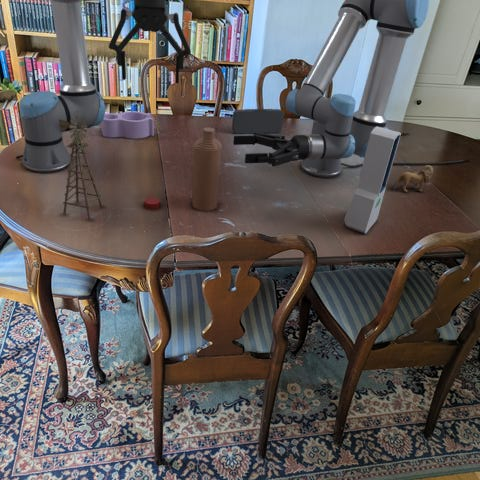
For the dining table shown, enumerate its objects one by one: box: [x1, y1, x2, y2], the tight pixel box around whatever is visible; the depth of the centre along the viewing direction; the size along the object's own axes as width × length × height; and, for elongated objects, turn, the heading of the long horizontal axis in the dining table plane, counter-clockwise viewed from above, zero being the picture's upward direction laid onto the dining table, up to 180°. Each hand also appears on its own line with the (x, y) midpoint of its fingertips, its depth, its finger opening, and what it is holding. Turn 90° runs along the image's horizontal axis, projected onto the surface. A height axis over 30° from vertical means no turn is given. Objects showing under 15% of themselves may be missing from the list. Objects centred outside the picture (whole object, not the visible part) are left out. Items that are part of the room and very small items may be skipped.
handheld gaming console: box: [231, 108, 285, 135], centre depth 202 cm, size 23×3×10 cm, turn 108°
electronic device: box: [343, 127, 402, 235], centre depth 137 cm, size 12×8×30 cm, turn 148°
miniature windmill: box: [59, 109, 104, 220], centre depth 128 cm, size 9×8×30 cm
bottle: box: [191, 127, 223, 212], centre depth 139 cm, size 8×8×24 cm
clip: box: [101, 110, 155, 140], centre depth 188 cm, size 20×12×7 cm, turn 109°
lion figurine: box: [392, 165, 434, 193], centre depth 167 cm, size 15×5×9 cm, turn 110°
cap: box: [144, 196, 161, 211], centre depth 142 cm, size 4×4×2 cm
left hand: (150, 80), depth 122 cm, fingers open, 13 cm apart
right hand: (239, 149), depth 138 cm, fingers open, 13 cm apart
